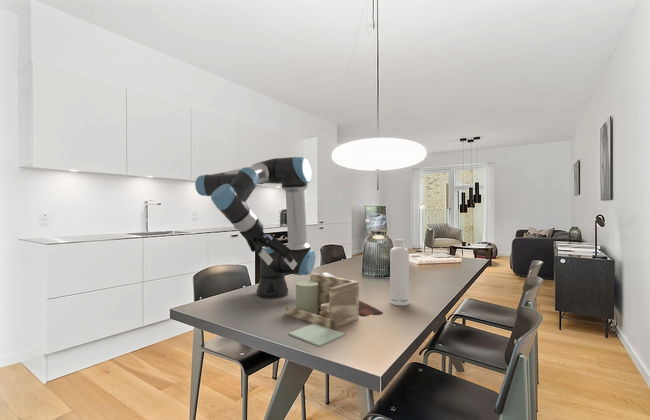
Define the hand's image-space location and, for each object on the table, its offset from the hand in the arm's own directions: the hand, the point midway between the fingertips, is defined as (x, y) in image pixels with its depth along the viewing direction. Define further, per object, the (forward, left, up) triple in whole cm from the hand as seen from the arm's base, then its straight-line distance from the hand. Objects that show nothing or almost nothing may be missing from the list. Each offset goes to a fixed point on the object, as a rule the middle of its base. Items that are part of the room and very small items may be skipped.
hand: (282, 264), depth 120 cm
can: (0, +13, -21) cm, 25 cm away
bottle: (+21, +50, -21) cm, 58 cm away
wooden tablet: (+10, +34, -22) cm, 41 cm away
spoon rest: (-20, +49, -21) cm, 57 cm away
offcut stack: (+14, +13, -21) cm, 28 cm away
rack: (+8, +13, -21) cm, 26 cm away
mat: (+19, -1, -21) cm, 28 cm away
